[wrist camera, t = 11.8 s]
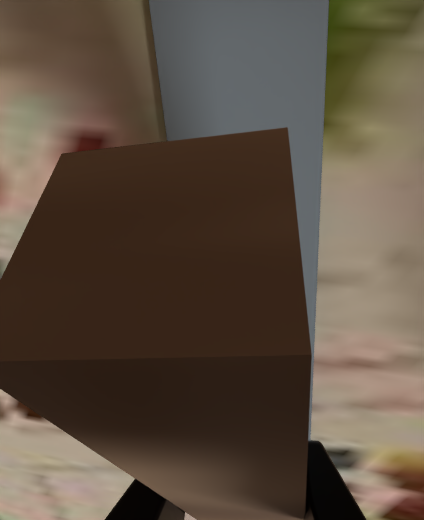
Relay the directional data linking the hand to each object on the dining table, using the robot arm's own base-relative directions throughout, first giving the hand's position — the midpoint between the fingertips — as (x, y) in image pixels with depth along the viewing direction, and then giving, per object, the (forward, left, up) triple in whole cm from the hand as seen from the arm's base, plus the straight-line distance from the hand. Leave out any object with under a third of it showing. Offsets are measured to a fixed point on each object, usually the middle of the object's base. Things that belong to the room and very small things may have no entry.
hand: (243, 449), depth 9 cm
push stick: (0, 0, -1) cm, 1 cm away
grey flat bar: (0, 0, -8) cm, 8 cm away
